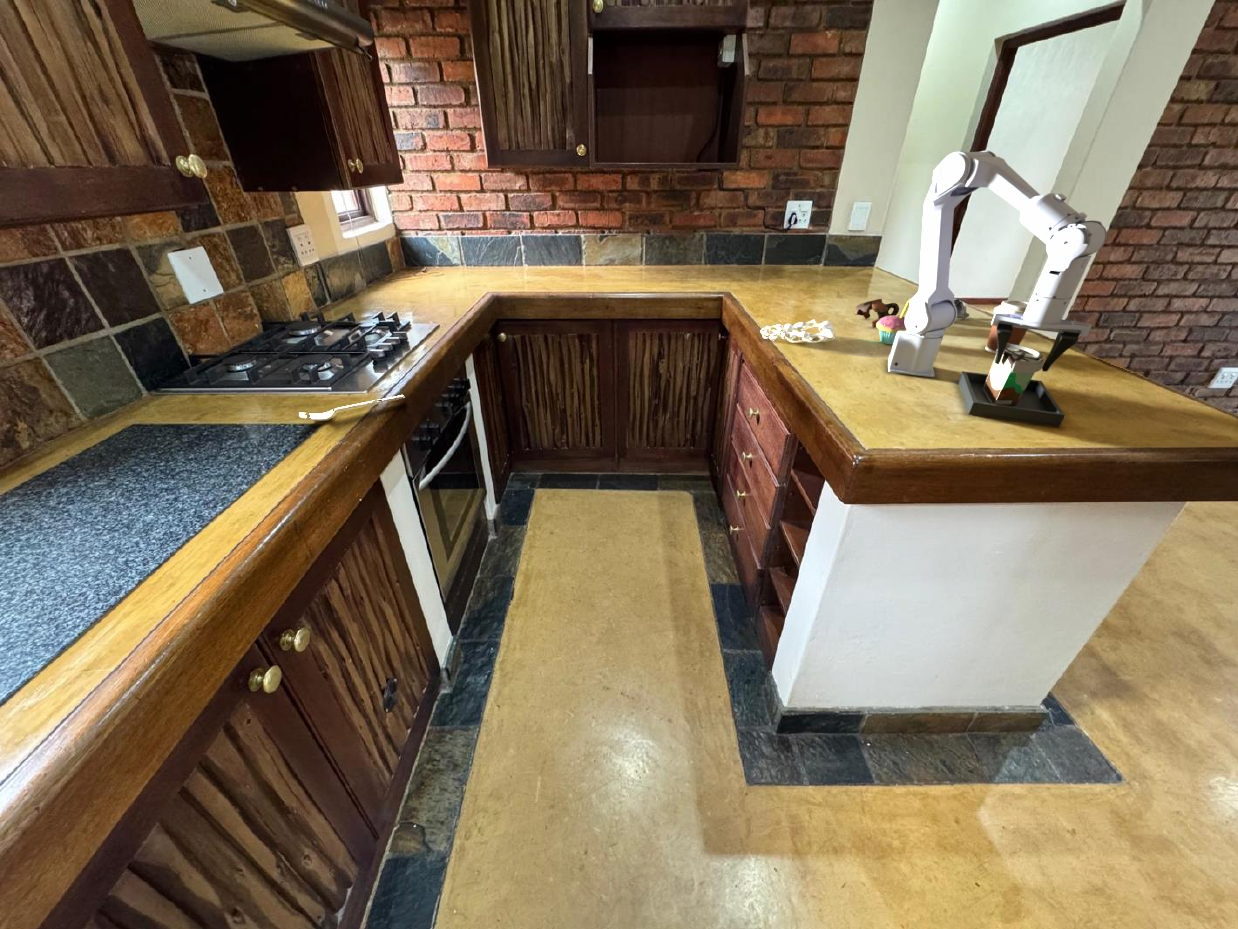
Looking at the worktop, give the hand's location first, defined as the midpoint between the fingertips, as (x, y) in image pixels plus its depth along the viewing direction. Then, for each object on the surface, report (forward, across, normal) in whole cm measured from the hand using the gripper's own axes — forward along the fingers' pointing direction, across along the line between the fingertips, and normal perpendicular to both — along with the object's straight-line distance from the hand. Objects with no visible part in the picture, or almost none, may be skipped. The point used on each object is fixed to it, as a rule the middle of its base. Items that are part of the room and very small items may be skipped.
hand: (1020, 366), depth 96 cm
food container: (+8, 0, 0) cm, 8 cm away
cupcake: (+8, +26, -29) cm, 40 cm away
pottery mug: (+8, +33, -45) cm, 56 cm away
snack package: (+8, +14, -62) cm, 64 cm away
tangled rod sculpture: (+8, +47, -19) cm, 52 cm away
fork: (+8, +114, +74) cm, 136 cm away
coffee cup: (+8, +1, -36) cm, 37 cm away
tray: (+8, 0, 0) cm, 8 cm away
